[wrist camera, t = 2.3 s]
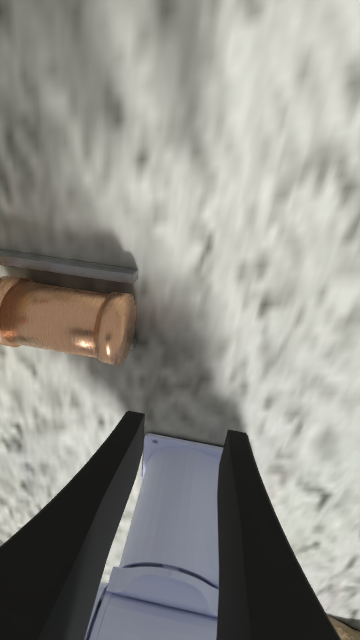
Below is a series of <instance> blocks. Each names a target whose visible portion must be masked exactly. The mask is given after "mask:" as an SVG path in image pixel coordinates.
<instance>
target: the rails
mask: <svg viewBox="0 0 360 640" xmlns="http://www.w3.org/2000/svg"><path fill="white" fill-rule="evenodd" d="M0 264H1V265H8V266H14V267H21V268H28V269H35V270H41V271H48V272H55V273H62V274H68V275H75V276H82V277H89V278H95V279H102V280H109V281H116V282H122V283H129V284H134V283H135V281H136V280H137V279H138V269H132V268H125V267H118V266H111V265H104V264H97V263H90V262H83V261H76V260H70V259H63V258H56V257H49V256H42V255H35V254H28V253H21V252H14V251H7V250H0ZM136 343H137V336H134V337H133V341H132V345H131V348H130V350H131V351H133V349H134V347H135V345H136Z"/></svg>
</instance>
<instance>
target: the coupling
mask: <svg viewBox="0 0 360 640" xmlns="http://www.w3.org/2000/svg"><path fill="white" fill-rule="evenodd" d="M135 326H136V303H135V299H134V297H133V295H132V294H127V293H120V292H111V293H110V294H105V293H99V292H92V291H86V290H79V289H72V288H66V287H59V286H53V285H46V284H40V283H34V282H33V281H32V280H30V279H27V278H21V277H15V276H4V277H1V278H0V345H5V346H11V347H18V346H21V345H24V346H30V347H36V348H42V349H47V350H53V351H59V352H65V353H70V354H76V355H82V356H88V357H94V358H98V360H99V361H100V362H103V363H108V364H114V365H121V364H122V363H123V362H124V360H125V359H126V357H127V355H128V353H129V351H130V348H131V345H132V341H133V337H134V333H135Z"/></svg>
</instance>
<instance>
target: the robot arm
mask: <svg viewBox="0 0 360 640" xmlns="http://www.w3.org/2000/svg"><path fill="white" fill-rule="evenodd" d="M144 418H145V414H143V413H137V412H132V411H128V412H126V413H125V415H124V416H123V418H122V419H121V420H120V422H119V423H118V425H117V426H116V427H115V429H114V430H113V431H112V433H111V434H110V435H109V437H108V438H107V439H106V440H105V442H104V443H103V444H102V445H101V447H100V448H99V449H98V450H97V451H96V453H95V454H94V455H93V456H92V457H91V459H90V460H89V461H88V462H87V463H86V464H85V465H84V467H83V468H82V469H81V470H80V471H79V472H78V473H77V474H76V475H75V476H74V477H73V479H72V480H71V481H70V482H69V483H68V484H67V485H66V486H65V487H64V488H63V489H62V490H61V491H60V492H59V493H58V494H57V495H56V496H55V497H54V498H53V499H52V500H51V501H50V502H49V503H48V504H47V505H46V506H45V507H44V508H43V509H42V510H41V511H40V512H39V513H38V514H37V515H36V516H34V517H33V518H32V519H31V520H30V521H29V522H28V523H27V524H26V525H24V526H23V527H22V528H21V529H20V530H19V531H18V532H17V533H16V534H14V535H13V536H12V537H11V538H10V539H9V540H8V541H6V542H5V543H4V544H3V545H2V546H1V547H0V640H341V638H340V636H339V635H338V633H337V631H336V630H335V628H334V626H333V625H332V623H331V621H330V619H329V618H328V616H327V614H326V613H325V611H324V609H323V607H322V606H321V604H320V602H319V600H318V598H317V596H316V595H315V593H314V591H313V589H312V587H311V585H310V584H309V582H308V580H307V578H306V576H305V574H304V572H303V570H302V568H301V566H300V564H299V562H298V561H297V559H296V557H295V555H294V552H293V550H292V548H291V546H290V544H289V542H288V540H287V538H286V536H285V534H284V531H283V529H282V527H281V525H280V523H279V520H278V518H277V516H276V514H275V511H274V509H273V507H272V504H271V502H270V499H269V497H268V494H267V492H266V489H265V487H264V484H263V481H262V479H261V476H260V473H259V471H258V468H257V465H256V462H255V459H254V456H253V453H252V449H251V446H250V442H249V439H248V435H247V434H246V433H243V432H238V431H233V430H228V433H227V437H226V441H225V444H224V448H223V447H218V446H213V445H208V444H202V443H197V442H192V441H187V440H182V439H177V438H172V437H166V436H161V435H156V434H151V433H148V434H146V435H145V438H144ZM143 441H144V454H143V476H142V484H141V488H140V492H139V495H138V499H137V503H136V506H135V510H134V514H133V517H132V521H131V525H130V528H129V532H128V536H127V539H126V543H125V547H124V551H123V554H122V558H121V562H120V565H119V567H113V569H112V573H111V576H110V580H109V583H105V582H101V583H100V581H101V578H102V574H103V571H104V567H105V564H106V560H107V557H108V554H109V551H110V548H111V545H112V542H113V539H114V537H115V534H116V531H117V528H118V526H119V523H120V520H121V517H122V515H123V512H124V509H125V506H126V504H127V501H128V498H129V495H130V493H131V490H132V487H133V484H134V481H135V479H136V475H137V471H138V467H139V464H140V460H141V456H142V452H143Z"/></svg>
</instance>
